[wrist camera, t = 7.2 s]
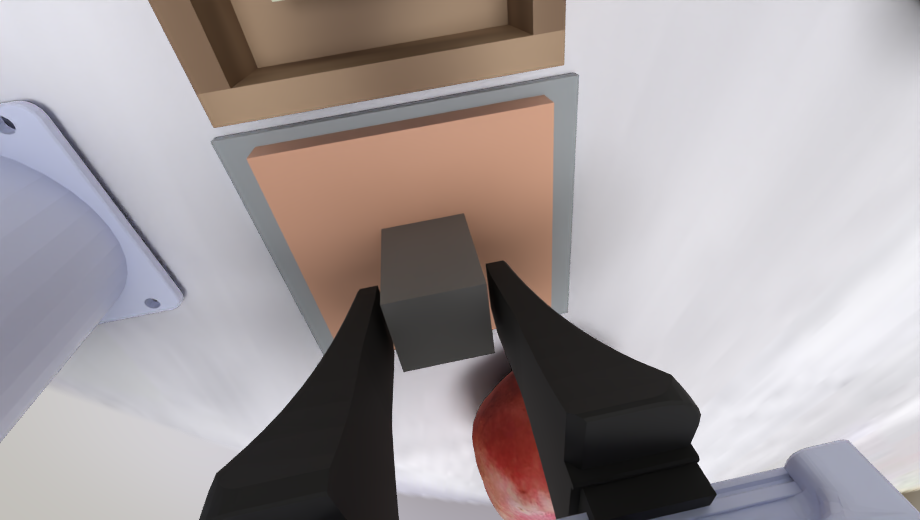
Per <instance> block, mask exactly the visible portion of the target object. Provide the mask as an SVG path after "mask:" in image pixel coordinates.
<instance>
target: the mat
mask: <svg viewBox="0 0 920 520" xmlns="http://www.w3.org/2000/svg"><path fill="white" fill-rule="evenodd" d="M578 84H579V75H578V74H576V73H570V74H564V75H559V76H553V77H548V78H542V79H537V80H531V81H526V82H520V83H515V84H509V85H503V86H498V87H492V88H487V89H481V90H476V91H470V92H465V93H459V94H454V95H448V96H443V97H437V98H432V99H426V100H421V101H415V102H410V103H404V104H399V105H393V106H387V107H382V108H376V109H371V110H365V111H360V112H354V113H349V114H343V115H338V116H332V117H327V118H321V119H316V120H310V121H305V122H299V123H294V124H288V125H283V126H277V127H271V128H266V129H260V130H255V131H249V132H244V133H238V134H233V135H227V136H222V137H216V138H214V139H213V140H212V141H211V143H212V145H213V147H214V149H215V151H216V153H217V155H218V156H219V158H220V160H221V162H222V164H223V166H224V168H225V170H226V172H227V173H228V175H229V177H230V179H231V181H232V183H233V185H234V187H235V189H236V190H237V192H238V194H239V196H240V198H241V200H242V202H243V204H244V206H245V207H246V209H247V211H248V213H249V215H250V217H251V219H252V221H253V223H254V224H255V226H256V228H257V230H258V232H259V234H260V236H261V238H262V240H263V241H264V243H265V245H266V247H267V249H268V251H269V253H270V255H271V256H272V258H273V260H274V262H275V264H276V266H277V268H278V270H279V272H280V273H281V275H282V277H283V279H284V281H285V283H286V285H287V287H288V289H289V290H290V292H291V294H292V296H293V298H294V300H295V302H296V304H297V306H298V307H299V309H300V311H301V313H302V315H303V317H304V319H305V321H306V323H307V324H308V326H309V328H310V330H311V332H312V334H313V336H314V338H315V340H316V341H317V343H318V345H319V347H320V349H321V351H322V353H323V355H324V354H325V353H326V351H327V349H328V348H329V346H330V345H331V343H332V341H333V340H334V339H333V337H332V335H331V332H330V330H329V328H328V326H327V324H326V322H325V320H324V318H323V316H322V314H321V312H320V310H319V308H318V306H317V304H316V301H315V299H314V297H313V295H312V293H311V291H310V289H309V287H308V285H307V283H306V281H305V279H304V277H303V275H302V273H301V271H300V268H299V266H298V264H297V262H296V260H295V258H294V256H293V254H292V252H291V250H290V248H289V246H288V244H287V242H286V240H285V238H284V235H283V233H282V231H281V229H280V227H279V225H278V223H277V221H276V219H275V217H274V215H273V213H272V211H271V209H270V207H269V205H268V202H267V200H266V198H265V196H264V194H263V192H262V190H261V188H260V186H259V184H258V182H257V180H256V178H255V176H254V174H253V171H252V169H251V167H250V165H249V163H248V161H247V157H248V156H249V155H250V153H251V152H252V151H253V149H254V148H255V147H258V146H264V145H269V144H275V143H280V142H286V141H291V140H297V139H302V138H308V137H313V136H319V135H324V134H330V133H335V132H341V131H346V130H352V129H357V128H363V127H368V126H374V125H379V124H385V123H391V122H396V121H402V120H407V119H413V118H418V117H424V116H429V115H435V114H440V113H446V112H451V111H457V110H462V109H468V108H473V107H479V106H484V105H490V104H495V103H501V102H506V101H512V100H517V99H523V98H528V97H534V96H539V95H545V96H546V97H548V98H549V99H550V100H551V101H553V102H554V148H553V220H552V292H551V308H552V309H554V310H555V311H556V312H557V313H558V314H562V313H567V312H568V295H569V274H570V253H571V232H572V211H573V190H574V169H575V148H576V126H577V105H578Z"/></svg>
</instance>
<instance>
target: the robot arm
mask: <svg viewBox="0 0 920 520" xmlns="http://www.w3.org/2000/svg"><path fill="white" fill-rule="evenodd" d="M2 117H5V118H7V119H9V120H10V121H11V122H12V123H13V124H14V126H15V128H16V130H15V129H13V128H11V127H9V126H8V125H7V124H5V123H4V121H3V119H2ZM486 272H487V281H488V289H489V298H490V306H491V311H492V314H493V318H494V322H495V326H496V329H497V333H498V335H499V338H500V341H501V343H502V346H503V348H504V351H505V353H506V356H507V358H508V361H509V363H510V366H511V368H512V371H513V373H514V376H515V378H516V381H517V383H518V386H519V389H520V391H521V394H522V397H523V400H524V404H525V407H526V411H527V414H528V417H529V421H530V424H531V428H532V432H533V435H534V439H535V442H536V446H537V449H538V453H539V457H540V460H541V464H542V468H543V471H544V475H545V479H546V482H547V486H548V490H549V494H550V498H551V501H552V505H553V509H554V513H555V517H556V519H555V520H920V512H918V510H917V509H915V507H914V506H913V505H912V504H911V503H910V502H909V501H908V500H907V499H906V498H905V497H904V496H903V495H902V494H901V493H900V492H899V491H898V490H897V489H896V488H895V487H894V486H893V485H892V484H891V483H890V482H889V481H888V480H887V479H886V478H885V477H884V476H883V475H882V474H881V473H880V472H879V471H878V470H877V469H876V468H875V467H874V466H873V465H872V464H871V463H870V462H869V461H868V460H867V459H866V458H865V457H864V456H863V455H862V454H861V453H860V452H859V451H858V450H857V449H856V448H855V447H854V446H853V445H852V444H851V443H850V442H849V441H848V440H838V441H834V442H830V443H825V444H821V445H816V446H812V447H808V448H804V449H801V450H799V451H797V452H795V453H794V454H792V455H791V456H790V457H789V458H788V460H787V461H786V463H785V467H782V468H777V469H773V470H769V471H764V472H760V473H756V474H751V475H747V476H743V477H738V478H734V479H729V480H725V481H721V482H716V483H712V484H710V483H709V481H708V479H707V478H706V476H705V475H704V473H703V471H702V470H701V468H700V467H699V465H698V464H697V462H699V460H700V459H699V456H698V454H697V452H696V451H695V449H694V448H693V446H692V445H691V441H692V439H693V437H694V435H695V432H696V430H697V428H698V425H699V422H700V417H701V414H700V411H699V408H698V407H697V405H696V404H695V403H694V401H693V400H692V398H691V397H690V396H689V394H688V393H687V392H686V391H685V390H684V388H683V387H682V386H681V385H680V384H679V383H678V382H677V381H676V380H675V378H674V377H673V376H672V375H671V374H668V373H666V372H663V371H661V370H658V369H656V368H653V367H651V366H649V365H646V364H644V363H641V362H639V361H637V360H634V359H632V358H630V357H628V356H626V355H624V354H622V353H620V352H618V351H616V350H614V349H612V348H611V347H609V346H607V345H605V344H603V343H602V342H600V341H598V340H596V339H595V338H593V337H591V336H590V335H588V334H587V333H585V332H584V331H582V330H580V329H579V328H577V327H576V326H575V325H573V324H572V323H570V322H569V321H568V320H566V319H565V318H564V317H562V316H561V315H560V314H558V313H557V312H556V311H555V310H554V309H552V308H551V307H550V306H549V305H547V304H546V303H545V302H544V301H543V300H542V299H541V298H540V297H539V296H537V295H536V294H535V293H534V292H533V291H532V290H531V289H530V288H529V287H528V286H527V285H526V284H525V283H524V282H523V281H522V280H521V279H520V278H519V277H518V276H517V274H516V273H515V272H514V271H513V270H512V269H511V268H510V266H509V265H508V264H507V263H506V262H505V261H503V260H502V261H497V262H492V263H487V264H486ZM183 297H184V296H183V294H182V292H181V291H180V289H179V288H178V287H177V285H176V284H175V283H174V281H173V280H172V279H171V277H170V276H169V275H168V274H167V272H166V271H165V270H164V268H163V267H162V266H161V264H160V263H159V262H158V260H157V259H156V258H155V256H154V255H153V254H152V252H151V251H150V250H149V248H148V247H147V246H146V244H145V243H144V242H143V240H142V239H141V238H140V236H139V235H138V234H137V232H136V231H135V230H134V229H133V227H132V226H131V225H130V223H129V222H128V221H127V219H126V218H125V217H124V215H123V214H122V213H121V211H120V210H119V209H118V207H117V206H116V205H115V203H114V202H113V201H112V199H111V198H110V197H109V195H108V194H107V193H106V191H105V190H104V189H103V187H102V186H101V185H100V183H99V182H98V181H97V180H96V178H95V177H94V176H93V174H92V173H91V172H90V170H89V169H88V168H87V166H86V165H85V164H84V162H83V161H82V160H81V158H80V157H79V156H78V154H77V153H76V152H75V150H74V149H73V148H72V146H71V145H70V144H69V142H68V141H67V140H66V138H65V137H64V136H63V135H62V133H61V132H60V131H59V129H58V128H57V127H56V125H55V124H54V123H53V121H52V120H51V119H50V117H49V116H48V115H47V114H46V113H45V112H44V111H43V110H42V109H41V108H39V107H38V106H36V105H35V104H32V103H29V102H26V101H12V102H6V103H0V442H1V441H2V440H3V439H4V438H5V436H6V435H7V434H8V433H9V431H10V430H11V429H12V428H13V427H14V425H15V424H16V423H17V422H18V421H19V419H20V418H21V417H22V416H23V414H24V413H25V412H26V411H27V409H28V408H29V407H30V406H31V405H32V403H33V402H34V401H35V400H36V399H37V397H38V396H39V395H40V394H41V392H42V391H43V390H44V389H45V388H46V386H47V385H48V384H49V383H50V381H51V380H52V379H53V378H54V377H55V375H56V374H57V373H58V372H59V370H60V369H61V368H62V367H63V366H64V364H65V363H66V362H67V361H68V359H69V358H70V357H71V356H72V355H73V353H74V352H75V351H76V350H77V348H78V347H79V346H80V345H81V344H82V342H83V341H84V340H85V339H86V337H87V336H88V335H89V334H90V333H91V331H92V330H93V329H94V328H95V327H96V325H97V324H101V323H106V322H111V321H116V320H122V319H127V318H132V317H137V316H142V315H147V314H152V313H157V312H162V311H167V310H172V309H175V308H178V307H179V305H180V304H181V303H182V301H183ZM152 299H155V300H157V301H158V302H156V301H153V300H152ZM393 379H394V343H393V340H392V337H391V335H390V332H389V329H388V326H387V323H386V320H385V317H384V315H383V312H382V309H381V306H380V291H379V288H378V285H377V286H372V287H367V288H362V289H359V291H358V292H357V294H356V296H355V298H354V301H353V303H352V305H351V307H350V309H349V311H348V313H347V315H346V317H345V319H344V321H343V323H342V325H341V327H340V329H339V330H338V332H337V334H336V336H335V338H334V340H333V341H332V343H331V345H330V346H329V348H328V349H327V351H326V353H325V354H324V356H323V358H322V359H321V361H320V362H319V364H318V365H317V367H316V368H315V370H314V371H313V372H312V374H311V375H310V377H309V378H308V379H307V381H306V382H305V383H304V385H303V386H302V387H301V389H300V390H299V391H298V392H297V393H296V395H295V396H294V397H293V398H292V400H291V401H290V402H289V403H288V404H287V405H286V407H285V408H284V409H283V410H282V411H281V412H280V413H279V415H278V416H277V417H276V418H275V419H274V420H273V421H272V422H271V423H270V424H269V425H268V426H267V427H266V428H265V429H264V430H263V431H262V432H261V433H260V434H259V435H258V436H257V437H256V438H255V439H254V440H253V441H252V442H251V443H250V444H249V445H248V446H247V447H246V448H244V449H243V450H242V451H241V452H240V453H239V454H238V455H237V456H236V457H234V458H233V459H232V460H231V461H230V462H229V463H228V464H227V465H226V466H224V467H223V468H222V469H221V470H220V471H219V472H218V473H216V475H215V478H214V480H213V483H212V485H211V487H210V490H209V492H208V495H207V498H206V501H205V504H204V507H203V510H202V513H201V516H200V519H199V520H399V516H398V504H397V492H396V480H395V466H394V452H393V435H392V402H393Z"/></svg>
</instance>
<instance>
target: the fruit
mask: <svg viewBox="0 0 920 520" xmlns="http://www.w3.org/2000/svg"><path fill="white" fill-rule="evenodd" d="M472 440H473V447H474V452H475V457H476V463H477V466H478V469H479V472H480V475H481V477H482V480H483V483H484V486H485V489H486V492H487V494H488V496H489V498H490V500H491V502H492V504H493V506H494V507H495V509H496V510H497V512H498V513H499V515H500V516H501V517H502V518H503V519H504V520H555V519H556V517H555V513H554V509H553V505H552V501H551V498H550V494H549V490H548V486H547V482H546V479H545V475H544V471H543V468H542V464H541V460H540V457H539V453H538V449H537V446H536V442H535V439H534V435H533V432H532V428H531V424H530V421H529V417H528V414H527V411H526V407H525V404H524V400H523V397H522V394H521V391H520V389H519V386H518V383H517V381H516V378H515V376H514V373H513V371H512V372H510V373H509V374H508V375H507V376H506V377H505V378H504V379H503V380H502V381H501V382H500V383H499V384H498V385H497V386H496V387H495V388H494V389H493V391H492V392H491V393H490V394H489V395H488V396H487V397H486V398H485V400H484V401H483V402H482V404H481V405H480V407H479V409H478V412H477V415H476V417H475V420H474V423H473V432H472Z"/></svg>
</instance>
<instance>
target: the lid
mask: <svg viewBox="0 0 920 520" xmlns="http://www.w3.org/2000/svg"><path fill="white" fill-rule="evenodd" d="M553 148H554V102H553V101H551V100H550V99H549V98H548V97H546V96H545V95H539V96H534V97H528V98H523V99H517V100H512V101H506V102H501V103H495V104H490V105H484V106H479V107H473V108H468V109H462V110H457V111H451V112H446V113H440V114H435V115H429V116H424V117H418V118H413V119H407V120H402V121H396V122H391V123H385V124H379V125H374V126H368V127H363V128H357V129H352V130H346V131H341V132H335V133H330V134H324V135H319V136H313V137H308V138H302V139H297V140H291V141H286V142H280V143H275V144H269V145H264V146H258V147H255V148H254V149H253V151H252V152H251V153H250V155H249V156H248V157H247V161H248V163H249V165H250V167H251V169H252V171H253V174H254V176H255V178H256V180H257V182H258V184H259V186H260V188H261V190H262V192H263V194H264V196H265V198H266V200H267V202H268V205H269V207H270V209H271V211H272V213H273V215H274V217H275V219H276V221H277V223H278V225H279V227H280V229H281V231H282V233H283V235H284V238H285V240H286V242H287V244H288V246H289V248H290V250H291V252H292V254H293V256H294V258H295V260H296V262H297V264H298V266H299V268H300V271H301V273H302V275H303V277H304V279H305V281H306V283H307V285H308V287H309V289H310V291H311V293H312V295H313V297H314V299H315V301H316V304H317V306H318V308H319V310H320V312H321V314H322V316H323V318H324V320H325V322H326V324H327V326H328V328H329V330H330V332H331V335H332V337H333V339H334V338H335V336H336V334H337V332H338V330H339V329H340V327H341V325H342V323H343V321H344V319H345V317H346V315H347V313H348V311H349V309H350V307H351V305H352V303H353V301H354V298H355V296H356V294H357V292H358V291H359V289H362V288H367V287H372V286H377V285H378V288H379V291H380V306H381V309H382V312H383V315H384V317H385V320H386V323H387V326H388V329H389V332H390V335H391V337H392V340H393V343H394V350H396V352H397V355H398V357H399V360H400V363H401V366H402V369H403V372H406V371H411V370H416V369H420V368H425V367H430V366H435V365H440V364H444V363H449V362H454V361H459V360H463V359H468V358H473V357H478V356H483V355H487V354H492V353H495V351H494V342H493V334H492V330H493V329H496V326H495V322H494V318H493V314H492V311H491V306H490V298H489V289H488V281H487V272H486V264H487V263H492V262H497V261H502V260H503V261H505V262H506V263H507V264H508V265H509V266H510V268H511V269H512V270H513V271H514V272H515V273H516V274H517V276H518V277H519V278H520V279H521V280H522V281H523V282H524V283H525V284H526V285H527V286H528V287H529V288H530V289H531V290H532V291H533V292H534V293H535V294H536V295H537V296H539V297H540V298H541V299H542V300H543V301H544V302H545V303H546V304H547V305H549V306H550V307H551V292H552V220H553Z"/></svg>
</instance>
